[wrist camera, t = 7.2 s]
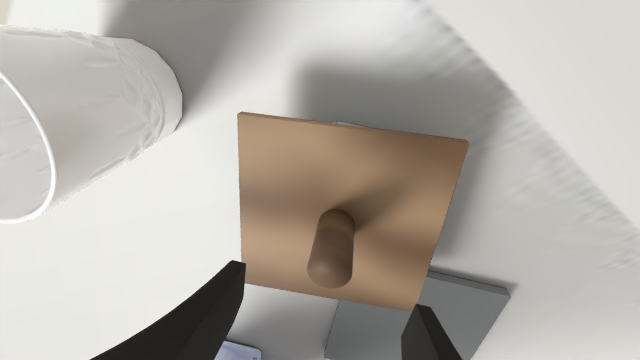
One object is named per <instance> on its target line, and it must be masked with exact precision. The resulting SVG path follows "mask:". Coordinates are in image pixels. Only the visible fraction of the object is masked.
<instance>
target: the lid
mask: <svg viewBox="0 0 640 360" xmlns="http://www.w3.org/2000/svg"><path fill="white" fill-rule="evenodd" d="M237 118H238V153H239V188H240V223H241V258H242V263H246V273H245V283H246V284H252V285H258V286H263V287H269V288H275V289H281V290H287V291H292V292H298V293H304V294H310V295H316V296H321V297H327V298H333V299H339V300H344V301H350V302H356V303H362V304H368V305H373V306H379V307H385V308H391V309H397V310H402V311H408V312H412V311H413V309H414V307H415V304H417V303H418V299H419V296H420V293H421V290H422V287H423V284H424V281H425V278H426V275H427V272H428V269H429V266H430V263H431V260H432V257H433V254H434V250H435V247H436V244H437V241H438V238H439V235H440V232H441V229H442V226H443V223H444V220H445V217H446V214H447V211H448V208H449V204H450V201H451V198H452V195H453V192H454V189H455V186H456V183H457V180H458V177H459V174H460V171H461V168H462V165H463V162H464V159H465V155H466V152H467V149H468V146H469V143H468V142H467V141H466V140H463V139H455V138H447V137H439V136H431V135H423V134H415V133H407V132H399V131H391V130H383V129H375V128H367V127H359V126H351V125H343V124H335V123H327V122H320V121H312V120H304V119H296V118H288V117H280V116H272V115H264V114H256V113H248V112H240V113H238V114H237Z"/></svg>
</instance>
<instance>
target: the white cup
mask: <svg viewBox="0 0 640 360" xmlns="http://www.w3.org/2000/svg"><path fill="white" fill-rule="evenodd" d="M182 97H183V95H182V92H181V89H180V87H179V84H178V82H177V79H176V77H175V74H174V72H173V70H172V69H171V68H170V67H169V66H168V64H167V63H166V62H165V61H164V60H163V59H162V58H161V57H160V55H159V54H158V53H157V52H156V51H155V50H153V49H151V48H149V47H147V46H145V45H143V44H141V43H139V42H137V41H135V40H133V39H128V38H112V37H102V36H95V35H91V34H87V33H80V32H73V31H63V30H57V29H46V28H35V27H23V26H11V25H0V223H21V222H25V221H29V220H32V219H34V218H36V217H38V216H40V215H41V214H43V213H45V212H46V211H48V210H50V209H51V208H53V207H55V206H56V205H58V204H60V203H61V202H63V201H65V200H66V199H68V198H70V197H71V196H73V195H75V194H76V193H78V192H80V191H81V190H83V189H85V188H86V187H88V186H90V185H91V184H93V183H95V182H97V181H98V180H100V179H102V178H103V177H105V176H107V175H108V174H110V173H112V172H113V171H115V170H117V169H118V168H120V167H122V166H123V165H125V164H127V163H128V162H129V161H131V160H133V159H134V158H136V157H137V156H138V155H140V154H142V153H143V152H144V151H145V150H146V149H147V148H148V147H150V146H152V145H153V144H155V143H156V142H158V141H160V140H162V139H163V138H165V137H167V136H169V135H170V134H172V133H173V132H174V130H175V128H176V126H177V125H178V123H179V121H180V119H181V118H182Z"/></svg>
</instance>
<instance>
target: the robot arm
mask: <svg viewBox="0 0 640 360" xmlns="http://www.w3.org/2000/svg"><path fill="white" fill-rule="evenodd" d="M245 273H246V263H242V262H238V261H234V260H232V261H230V262H229V263H228V264H227V265H226V266H225V267H224V268H223V269H222V270H220V271H219V272H218V273H217V274H216V275H215V276H214V277H213V278H212V279H211V280H209V281H208V282H207V283H206V284H205V285H204V286H202V287H201V288H200V289H199V290H198V291H196V292H195V293H194V294H193V295H192V296H190V297H189V298H188V299H186V300H185V301H184V302H182V303H181V304H180V305H179V306H177V307H176V308H175V309H173V310H172V311H171V312H169V313H168V314H166V315H165V316H163V317H162V318H161V319H159V320H158V321H156V322H155V323H153V324H152V325H150V326H148V327H147V328H145V329H144V330H142V331H140V332H139V333H137V334H135V335H134V336H132V337H131V338H129V339H127V340H126V341H124V342H122V343H120V344H119V345H117V346H115V347H113V348H111V349H109V350H107V351H105V352H104V353H102V354H100V355H98V356H96V357H94V358H92V359H90V360H261V351H260V350H259V349H256V348H252V347H248V346H244V345H240V344H236V343H231V342H227V341H224V340H225V338H226V336H227V334H228V332H229V330H230V329H231V327H232V325H233V323H234V320H235V318H236V315H237V313H238V310H239V308H240V305H241V303H242V300H243V295H244V284H245ZM401 354H402V360H463V359H462V358H461V356H460V355H459V353H458V352H457V350H456V348H455V347H454V345H453V344H452V342H451V340H450V339H449V337H448V335H447V334H446V332H445V330H444V329H443V327H442V325H441V323H440V322H439V320H438V318H437V317H436V315H435V313H434V312H433V310H432V308H431V307H429V306H424V305H420V304H415V307H414V309H413V311H412V313H411V315H410V318H409V320H408V322H407V324H406V326H405V329H404V331H403V333H402V335H401Z"/></svg>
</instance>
